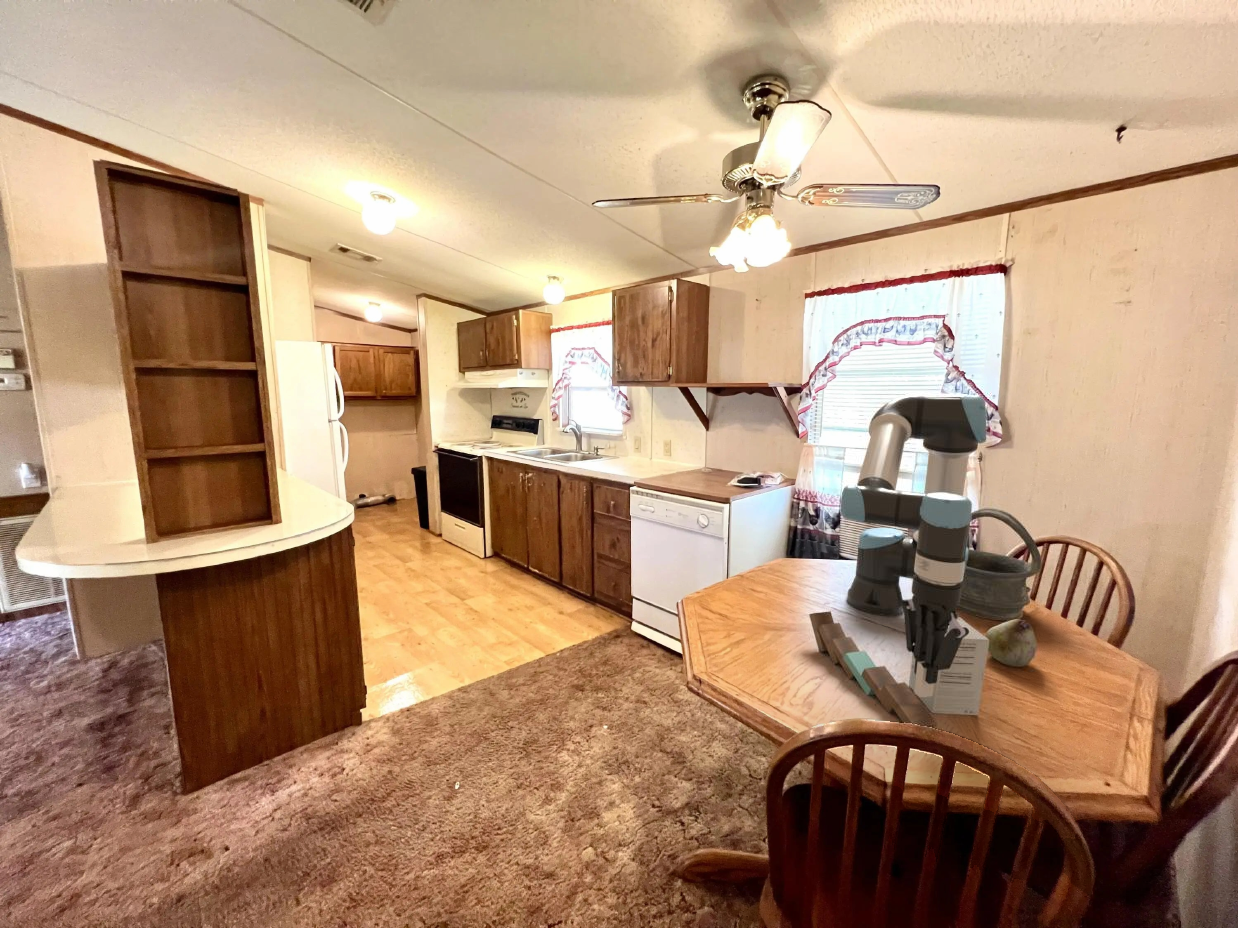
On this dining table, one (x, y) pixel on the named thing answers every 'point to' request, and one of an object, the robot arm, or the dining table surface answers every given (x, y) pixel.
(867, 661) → the teal domino
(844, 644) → the domino
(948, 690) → the supplement box
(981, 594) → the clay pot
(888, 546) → the robot arm
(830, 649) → the domino
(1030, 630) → the fruit
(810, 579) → the dining table surface
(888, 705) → the domino
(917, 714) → the domino
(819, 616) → the domino
